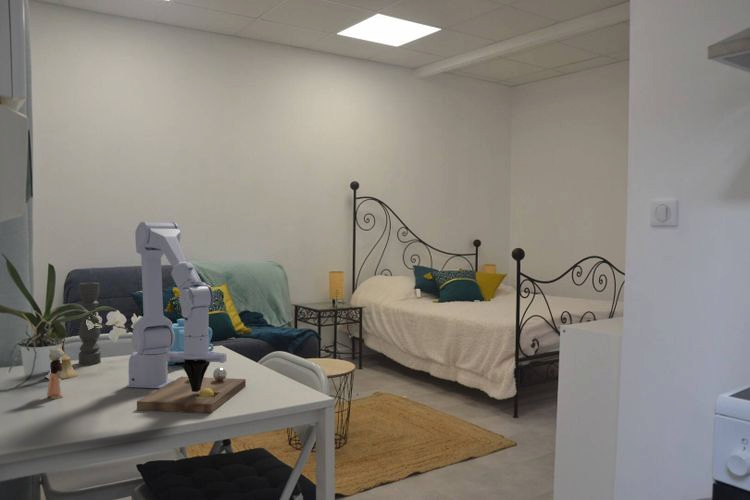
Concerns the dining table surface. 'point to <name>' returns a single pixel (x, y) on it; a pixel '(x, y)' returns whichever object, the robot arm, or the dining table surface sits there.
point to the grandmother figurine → (55, 373)
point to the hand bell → (67, 366)
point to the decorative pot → (182, 339)
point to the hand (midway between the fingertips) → (196, 390)
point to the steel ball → (219, 374)
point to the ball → (206, 393)
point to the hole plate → (191, 395)
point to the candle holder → (88, 337)
